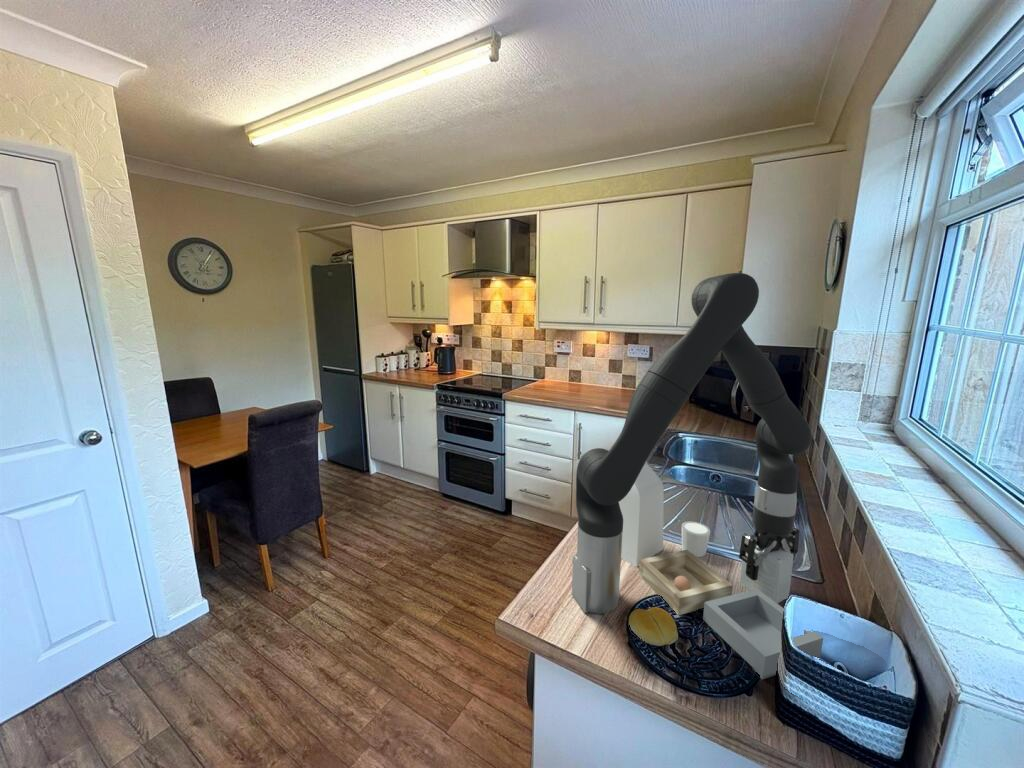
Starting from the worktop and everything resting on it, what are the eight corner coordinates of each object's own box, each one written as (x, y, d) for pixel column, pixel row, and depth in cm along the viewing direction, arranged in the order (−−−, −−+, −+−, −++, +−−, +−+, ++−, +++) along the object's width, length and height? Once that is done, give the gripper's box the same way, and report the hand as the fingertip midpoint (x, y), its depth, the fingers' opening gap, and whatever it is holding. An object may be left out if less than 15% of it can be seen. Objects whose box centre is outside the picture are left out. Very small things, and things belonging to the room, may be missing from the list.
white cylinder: (683, 542, 110) (686, 518, 108) (711, 551, 105) (713, 526, 104) (675, 553, 104) (677, 528, 103) (704, 563, 100) (706, 538, 99)
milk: (636, 569, 98) (643, 468, 93) (598, 547, 107) (603, 454, 102) (662, 551, 105) (670, 456, 101) (625, 532, 114) (631, 445, 110)
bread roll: (622, 618, 82) (623, 601, 81) (663, 615, 83) (664, 597, 83) (639, 652, 74) (641, 633, 73) (685, 647, 75) (686, 628, 75)
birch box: (677, 617, 82) (679, 598, 81) (638, 576, 95) (639, 559, 94) (730, 603, 86) (732, 585, 85) (685, 566, 99) (686, 549, 98)
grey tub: (762, 679, 68) (765, 656, 68) (702, 621, 81) (704, 602, 80) (819, 659, 72) (823, 637, 72) (754, 607, 85) (756, 588, 84)
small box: (789, 598, 88) (795, 554, 86) (775, 607, 85) (781, 562, 83) (752, 577, 95) (757, 537, 93) (738, 585, 92) (743, 543, 90)
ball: (680, 597, 87) (681, 583, 87) (670, 587, 90) (671, 574, 90) (693, 594, 88) (694, 580, 88) (682, 584, 91) (683, 571, 91)
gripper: (764, 520, 81) (756, 592, 84) (815, 509, 85) (806, 578, 88) (734, 503, 88) (727, 570, 91) (782, 494, 92) (774, 558, 95)
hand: (766, 574), depth 89 cm, fingers open, 8 cm apart
